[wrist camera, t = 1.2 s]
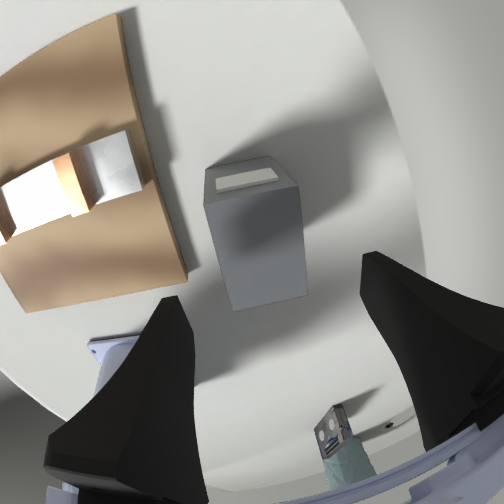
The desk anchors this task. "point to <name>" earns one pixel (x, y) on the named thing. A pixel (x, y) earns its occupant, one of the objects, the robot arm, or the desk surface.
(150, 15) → the desk surface
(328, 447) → the mini dv tape
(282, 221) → the block
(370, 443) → the desk surface
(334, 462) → the teal cup
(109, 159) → the din rail
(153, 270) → the mounting board
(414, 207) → the desk surface
